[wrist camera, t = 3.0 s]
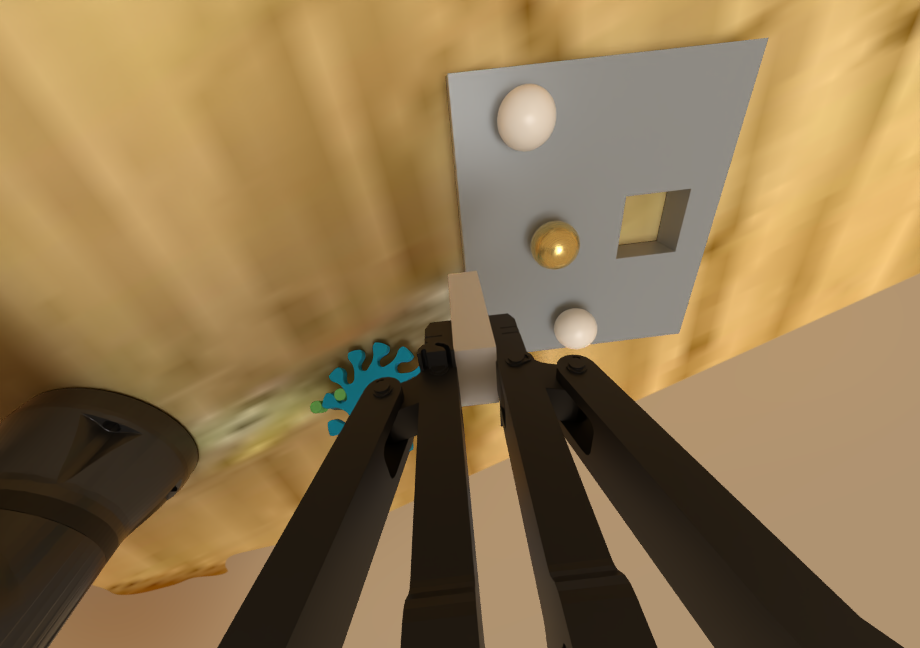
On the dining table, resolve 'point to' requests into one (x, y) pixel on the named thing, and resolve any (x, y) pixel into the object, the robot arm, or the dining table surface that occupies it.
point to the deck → (599, 182)
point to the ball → (555, 245)
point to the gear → (361, 381)
